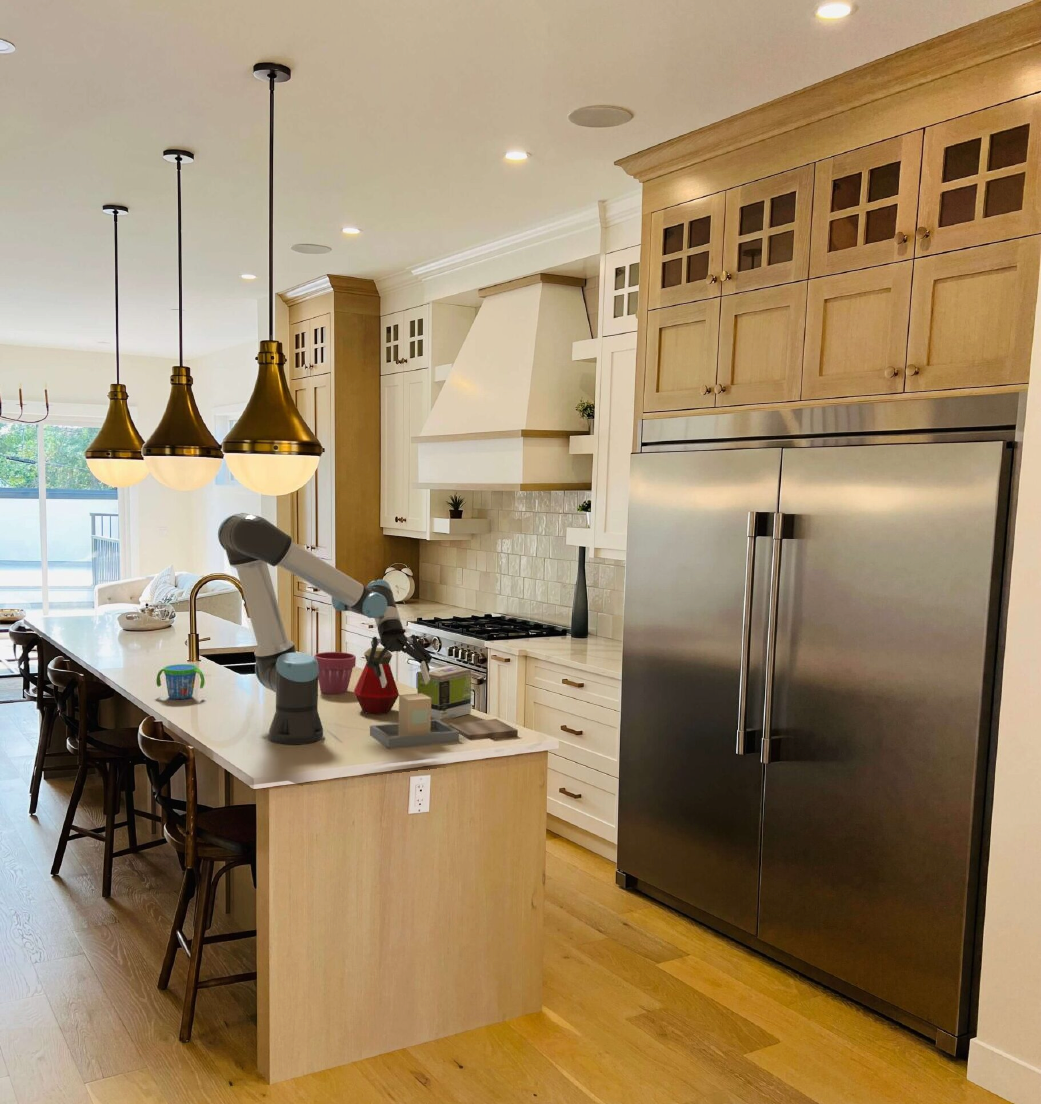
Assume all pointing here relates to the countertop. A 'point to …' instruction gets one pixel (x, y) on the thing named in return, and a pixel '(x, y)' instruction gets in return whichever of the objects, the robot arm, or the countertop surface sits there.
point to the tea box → (447, 691)
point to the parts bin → (390, 738)
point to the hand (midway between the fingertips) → (406, 683)
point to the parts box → (414, 714)
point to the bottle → (376, 687)
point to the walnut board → (485, 729)
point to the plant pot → (335, 671)
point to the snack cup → (180, 680)
